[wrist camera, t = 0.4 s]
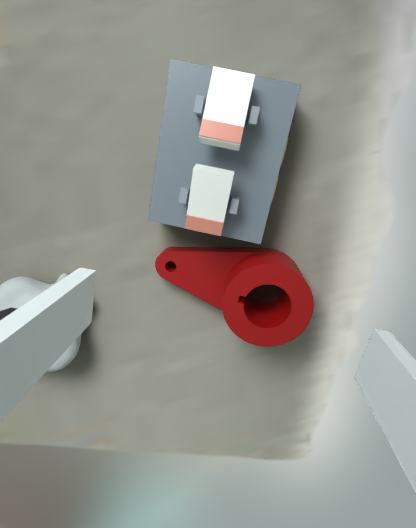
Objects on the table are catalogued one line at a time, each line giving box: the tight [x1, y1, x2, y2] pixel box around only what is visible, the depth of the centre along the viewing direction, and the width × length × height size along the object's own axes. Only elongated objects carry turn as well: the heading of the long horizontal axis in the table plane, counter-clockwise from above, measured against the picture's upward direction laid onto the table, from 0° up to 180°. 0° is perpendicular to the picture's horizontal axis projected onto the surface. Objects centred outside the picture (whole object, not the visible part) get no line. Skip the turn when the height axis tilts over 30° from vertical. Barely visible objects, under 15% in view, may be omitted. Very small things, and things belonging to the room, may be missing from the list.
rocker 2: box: [185, 163, 235, 236], centre depth 31 cm, size 6×4×2 cm, turn 169°
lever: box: [155, 247, 314, 346], centre depth 37 cm, size 18×9×7 cm, turn 76°
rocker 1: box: [199, 66, 255, 151], centre depth 28 cm, size 6×4×2 cm, turn 169°
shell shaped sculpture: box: [0, 273, 81, 372], centre depth 41 cm, size 13×13×6 cm
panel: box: [148, 59, 301, 244], centre depth 33 cm, size 15×12×7 cm
